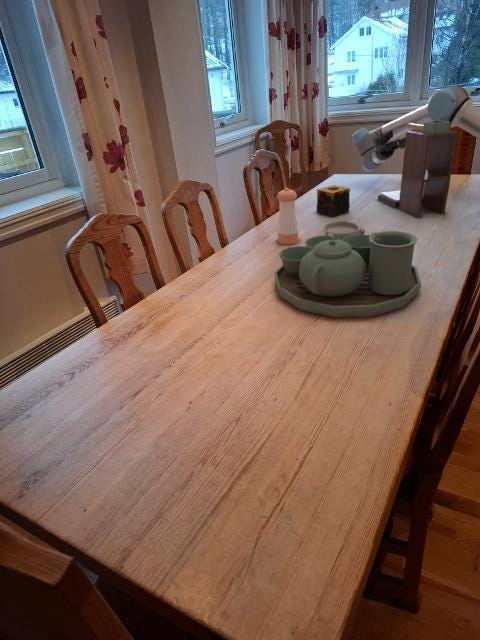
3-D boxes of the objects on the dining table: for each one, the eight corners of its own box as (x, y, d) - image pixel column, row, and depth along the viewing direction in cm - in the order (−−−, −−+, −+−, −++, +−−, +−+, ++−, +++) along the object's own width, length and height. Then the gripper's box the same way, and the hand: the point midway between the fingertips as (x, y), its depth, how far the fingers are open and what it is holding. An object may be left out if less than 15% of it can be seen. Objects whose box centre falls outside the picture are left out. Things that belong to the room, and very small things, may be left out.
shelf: (444, 213, 170) (457, 131, 155) (417, 217, 168) (427, 135, 153) (424, 204, 182) (434, 127, 167) (398, 208, 180) (406, 131, 165)
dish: (330, 249, 148) (330, 235, 145) (315, 236, 159) (315, 223, 157) (369, 242, 150) (370, 228, 147) (352, 230, 161) (353, 217, 159)
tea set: (409, 258, 135) (415, 206, 127) (427, 323, 102) (437, 259, 94) (284, 257, 144) (282, 209, 136) (263, 317, 111) (259, 257, 103)
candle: (331, 217, 177) (332, 193, 172) (315, 212, 185) (315, 189, 180) (349, 212, 182) (351, 188, 177) (333, 207, 189) (334, 184, 184)
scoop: (448, 132, 155) (450, 121, 154) (433, 134, 155) (435, 123, 153) (415, 126, 173) (416, 117, 172) (402, 128, 172) (403, 119, 171)
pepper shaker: (302, 239, 158) (301, 186, 148) (289, 245, 153) (288, 191, 144) (286, 236, 162) (284, 184, 153) (274, 242, 158) (271, 189, 148)
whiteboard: (425, 203, 183) (426, 196, 181) (395, 208, 181) (396, 200, 179) (406, 195, 196) (406, 188, 194) (377, 199, 194) (378, 192, 192)
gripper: (409, 157, 197) (436, 136, 176) (358, 164, 194) (380, 144, 173) (406, 141, 197) (433, 118, 176) (355, 147, 194) (377, 125, 173)
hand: (407, 131), depth 174 cm, fingers open, 13 cm apart
